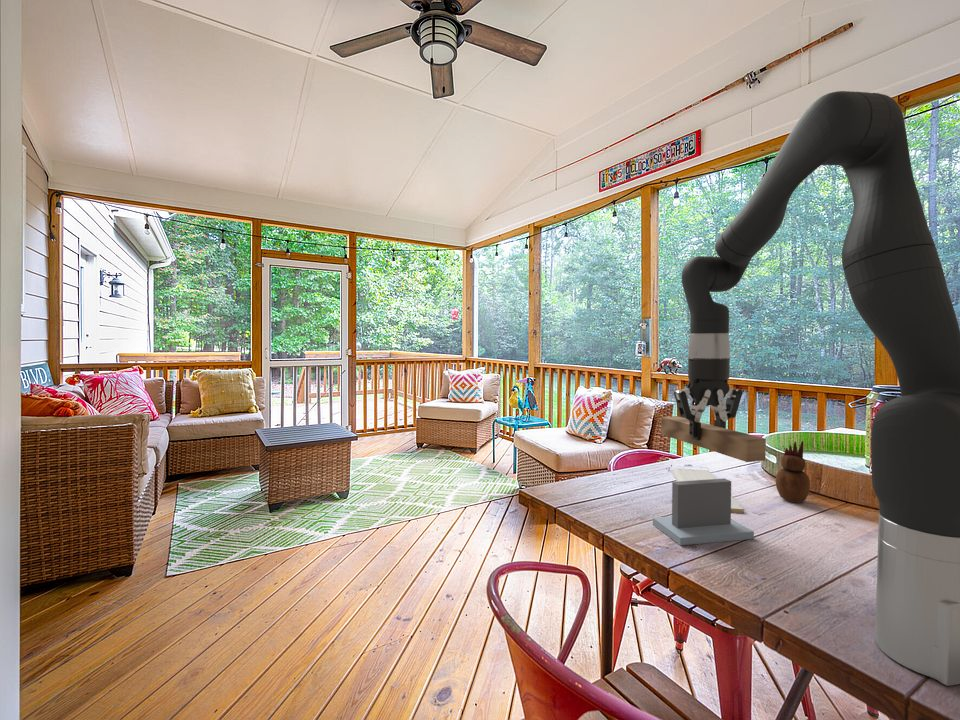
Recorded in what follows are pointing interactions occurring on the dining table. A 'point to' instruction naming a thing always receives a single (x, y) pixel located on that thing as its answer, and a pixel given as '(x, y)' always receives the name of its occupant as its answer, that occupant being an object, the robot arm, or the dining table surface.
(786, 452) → the wooden figurine
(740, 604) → the dining table surface
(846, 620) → the dining table surface
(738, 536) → the fulcrum board
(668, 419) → the walnut bar
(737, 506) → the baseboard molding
